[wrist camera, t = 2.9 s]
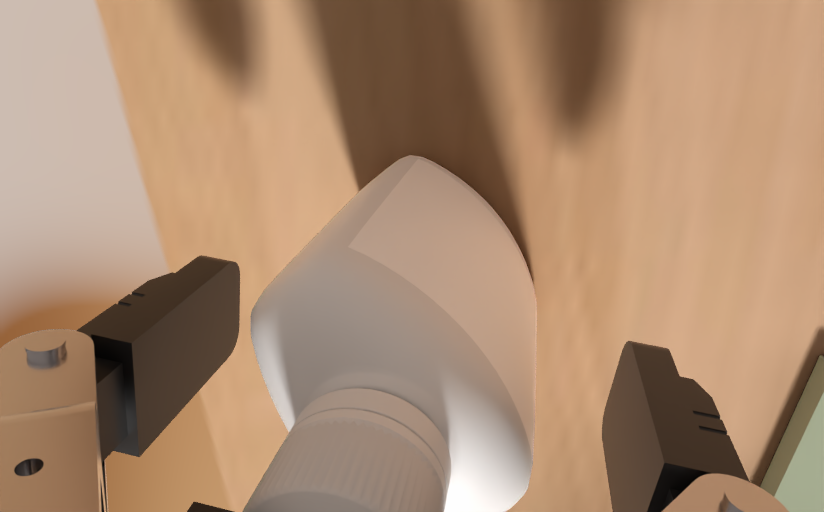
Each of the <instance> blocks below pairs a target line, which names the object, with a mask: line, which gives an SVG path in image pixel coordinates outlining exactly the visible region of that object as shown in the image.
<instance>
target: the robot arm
mask: <svg viewBox="0 0 824 512" xmlns="http://www.w3.org/2000/svg"><path fill="white" fill-rule="evenodd" d="M239 305H240V271H239V266H238V264H237V263H236V262H232V261H227V260H222V259H217V258H212V257H207V256H199V257H197V258H196V259H194V260H193V261H191V262H190V263H189V264H187V265H186V266H184V267H183V268H182V269H180V270H179V271H178V272H176V273H169V274H166V275H164V276H161V277H158V278H155V279H152V280H149V281H147V282H146V283H145V284H143V285H142V286H140V287H139V288H137V289H136V290H134V291H133V292H132V295H130V294H129V295H127V296H126V297H124V298H123V299H121V300H120V301H119V303H118V304H114V305H113V306H111V307H110V308H109V309H107V310H106V311H104V312H103V313H101V314H100V315H98V316H97V317H95V318H94V319H93V320H92V321H90V322H88V323H87V324H85V325H84V326H82V327H81V328H80V329H78V330H77V331H74V330H66V329H54V330H53V329H52V330H43V331H38V332H33V333H29V334H26V335H23V336H21V337H18V338H16V339H14V340H12V341H10V342H9V343H7V344H6V345H4V346H3V347H2V348H1V349H0V512H108V499H107V483H106V467H105V459H106V458H107V456H108V455H109V454H110V453H111V452H112V451H117V452H121V453H125V454H129V455H133V456H137V457H140V456H141V455H142V454H143V452H144V451H145V450H146V449H147V448H148V447H149V446H150V445H151V443H152V442H153V441H154V440H155V439H156V438H157V437H158V436H159V434H160V433H161V432H162V431H163V430H164V429H165V428H166V427H167V426H168V424H169V423H170V422H171V421H172V420H173V419H174V418H175V417H176V416H177V414H178V413H179V412H180V411H181V410H182V409H183V408H184V407H185V405H186V404H187V403H188V402H189V401H190V400H191V399H192V398H193V396H194V395H195V394H196V393H197V392H198V391H199V390H200V389H201V388H202V386H203V385H204V384H205V383H206V382H207V381H208V380H209V379H210V377H211V376H212V375H213V374H214V373H215V372H216V371H217V370H218V369H219V367H220V366H221V365H222V364H223V363H224V362H225V361H226V360H227V358H228V357H229V356H230V355H231V353H232V351H233V349H234V347H235V345H236V342H237V338H238V333H239ZM602 441H603V448H604V454H605V461H606V468H607V475H608V482H609V488H610V495H611V502H612V509H613V512H789V511H788V510H787V509H786V508H785V506H784V505H783V504H781V503H780V502H779V501H778V500H777V499H776V498H775V497H773V496H772V495H771V494H769V493H768V492H766V491H765V490H763V489H762V488H760V487H758V486H756V485H754V484H753V483H750V482H749V480H748V477H747V475H746V473H745V471H744V468H743V466H742V464H741V462H740V459H739V457H738V455H737V453H736V450H735V448H734V446H733V444H732V442H731V439H730V437H729V436H728V435H727V430H726V428H725V426H724V424H723V421H722V420H720V415H719V412H718V410H717V408H716V406H715V403H714V401H713V399H712V397H711V396H710V395H709V394H708V393H707V392H706V391H705V390H704V389H703V388H702V387H701V386H700V385H699V384H698V383H697V382H695V381H694V380H693V379H689V378H684V377H680V376H679V374H678V371H677V369H676V366H675V363H674V361H673V358H672V356H671V353H670V351H669V349H667V348H662V347H657V346H652V345H647V344H642V343H637V342H632V341H628V342H626V344H625V346H624V348H623V350H622V354H621V357H620V360H619V364H618V367H617V370H616V374H615V377H614V380H613V384H612V387H611V390H610V394H609V397H608V400H607V404H606V407H605V411H604V417H603V424H602ZM187 512H233V511H229V510H225V509H221V508H217V507H213V506H209V505H205V504H201V503H198V502H193V504H192V505H191V507H190V508H189V510H188V511H187Z"/></svg>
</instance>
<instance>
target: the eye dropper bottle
mask: <svg viewBox="0 0 824 512" xmlns="http://www.w3.org/2000/svg"><path fill="white" fill-rule="evenodd" d="M251 338H252V342H253V346H254V350H255V354H256V357H257V361H258V364H259V367H260V370H261V373H262V376H263V378H264V381H265V383H266V386H267V388H268V391H269V393H270V396H271V398H272V400H273V402H274V404H275V406H276V408H277V411H278V413H279V415H280V417H281V419H282V421H283V422H284V424H285V426H286V428H287V430H288V431H289V434H288V435H287V437H286V439H285V440H284V442H283V444H282V445H281V447H280V449H279V451H278V452H277V454H276V456H275V457H274V459H273V461H272V462H271V464H270V466H269V467H268V469H267V471H266V472H265V474H264V476H263V478H262V479H261V481H260V483H259V484H258V486H257V488H256V489H255V491H254V493H253V494H252V496H251V498H250V499H249V501H248V503H247V505H246V506H245V508H244V510H243V512H505V511H507V510H508V509H510V508H511V507H512V506H513V505H515V504H516V503H517V502H518V500H519V499H520V498H521V497H522V496H523V495H524V494H525V492H526V491H527V489H528V485H529V480H530V475H531V470H532V465H533V451H534V432H535V395H536V338H537V300H536V295H535V289H534V286H533V282H532V278H531V275H530V273H529V270H528V267H527V264H526V262H525V259H524V257H523V255H522V253H521V251H520V249H519V247H518V245H517V243H516V241H515V239H514V237H513V236H512V234H511V232H510V231H509V229H508V228H507V226H506V225H505V223H504V222H503V221H502V219H501V218H500V217H499V215H498V214H497V213H496V212H495V211H494V209H493V208H492V207H491V206H490V205H489V204H488V203H487V202H486V201H485V200H484V198H482V197H481V196H480V195H479V194H478V193H477V192H476V191H475V190H474V189H473V188H471V187H470V186H469V185H468V184H467V183H465V182H464V181H463V180H461V179H460V178H459V177H457V176H456V175H454V174H453V173H451V172H450V171H448V170H447V169H445V168H443V167H442V166H440V165H438V164H436V163H435V162H433V161H431V160H428V159H426V158H424V157H420V156H413V155H408V156H406V157H403V158H401V159H399V160H397V161H396V162H395V163H393V164H392V165H391V166H389V167H388V168H387V169H385V170H384V171H383V172H382V173H380V174H379V175H378V176H377V177H376V178H374V179H373V180H372V181H371V182H369V183H368V184H367V185H366V186H365V187H364V188H363V189H361V190H360V191H359V192H358V193H357V194H356V195H355V196H354V197H353V198H352V199H351V200H350V201H349V202H348V203H347V204H346V205H345V206H344V207H343V208H342V209H341V210H340V211H339V212H338V213H337V214H336V215H335V216H334V218H333V219H332V220H331V221H330V222H329V223H328V224H327V225H326V226H325V227H324V228H323V229H322V230H321V231H320V232H319V233H318V234H317V235H316V236H315V237H314V238H313V239H312V240H311V241H310V242H309V243H308V244H307V245H306V246H305V247H304V248H303V249H302V250H301V251H300V252H299V253H298V254H297V255H296V256H295V257H294V258H293V260H292V261H291V262H290V263H289V264H288V265H287V266H286V267H285V268H284V269H283V270H282V271H281V272H280V273H279V274H278V276H277V277H276V278H275V279H274V280H273V281H272V282H271V283H270V284H269V285H268V286H267V288H266V289H265V290H264V291H263V293H262V294H261V296H260V297H259V299H258V301H257V303H256V304H255V306H254V308H253V310H252V313H251Z"/></svg>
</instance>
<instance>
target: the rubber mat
mask: <svg viewBox="0 0 824 512" xmlns="http://www.w3.org/2000/svg"><path fill="white" fill-rule="evenodd" d="M760 488H762V489H763V490H765V491H766V492H768V493H769V494H771V495H772V496H773V497H775V498H776V499H777V500H778V501H779V502H780V503H781V504H783V505H784V506H785V508H786V509H787V510H788V511H789V512H824V356H822V355H820V356H819V358H818V360H817V363H816V365H815V367H814V369H813V371H812V374H811V376H810V378H809V380H808V382H807V385H806V387H805V389H804V391H803V393H802V396H801V398H800V400H799V402H798V404H797V407H796V409H795V411H794V413H793V415H792V417H791V420H790V422H789V424H788V426H787V428H786V431H785V433H784V435H783V437H782V439H781V442H780V444H779V446H778V448H777V450H776V453H775V455H774V457H773V459H772V461H771V464H770V466H769V468H768V470H767V472H766V475H765V477H764V479H763V481H762V483H761V485H760Z"/></svg>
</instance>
